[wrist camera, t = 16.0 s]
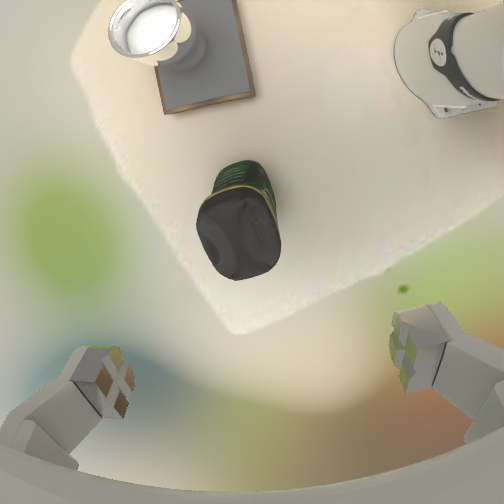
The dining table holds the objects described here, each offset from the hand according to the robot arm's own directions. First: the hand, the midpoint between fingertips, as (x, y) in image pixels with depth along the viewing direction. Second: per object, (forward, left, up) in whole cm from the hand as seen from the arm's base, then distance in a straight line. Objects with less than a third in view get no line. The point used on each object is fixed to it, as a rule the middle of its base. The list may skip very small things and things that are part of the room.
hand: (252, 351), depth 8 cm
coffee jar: (+3, +6, -39) cm, 40 cm away
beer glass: (+7, -16, -34) cm, 38 cm away
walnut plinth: (+5, -16, -39) cm, 42 cm away
